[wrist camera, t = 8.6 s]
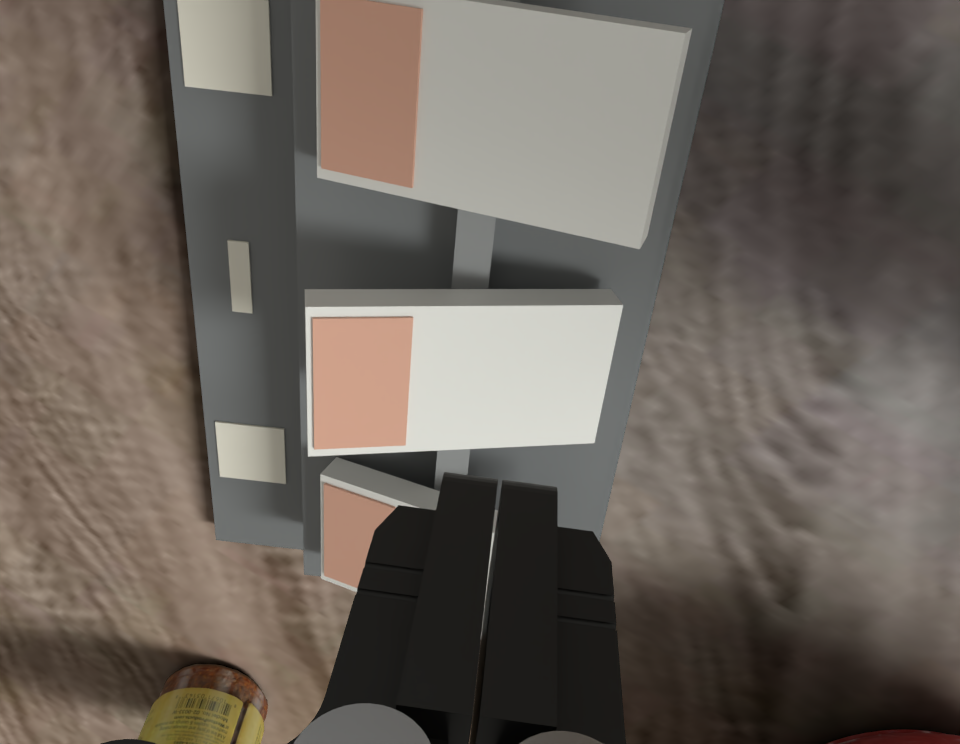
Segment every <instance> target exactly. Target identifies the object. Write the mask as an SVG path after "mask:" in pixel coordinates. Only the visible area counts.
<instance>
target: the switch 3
mask: <svg viewBox="0 0 960 744" xmlns="http://www.w3.org/2000/svg"><path fill="white" fill-rule="evenodd" d="M320 493H321V579H323V580H326V581H329V582H331V583H334V584H337V585H339V586H342V587H345V588H347V589H350V590H352V591H355V592H357V588H358V584H359V581H360V578H361V574H362V571H363V568H364V567H365V561H366V558H367V554H368V551H369V548H370V544H371V541H372V537H373V534H374V531H375V529H376V528H377V527H378V526H379V525H380V524H381V523H382V522H383V521H384V520H385V519H386V518H387V517H388V516H389V515H390V514H391V513H392V512H393V511H394V510H395V508H396V507H397V506H398V505H401V506H409V507H416V508H423V509H431V510H436V508H437V503H438V498H439V493H440V491H437V490H434V489H431V488H428V487H425V486H422V485H419V484H416V483H413V482H410V481H407V480H404V479H401V478H398V477H395V476H392V475H389V474H386V473H383V472H380V471H377V470H374V469H371V468H368V467H365V466H362V465H359V464H356V463H353V462H350V461H347V460H344V459H341V458H338V457H336V458H335V459H334V460H333V461H332V462H331V463H330V464H329V465H328V466H327V467H326V469H325V470H324V471H323V472H322V473H321V474H320ZM497 513H498V510H495V513H494V522H493V531H492V541H491V550H490V559H489V568H490V561H491V554H492V547H493V541H494V534H495V527H496V520H497ZM489 568H488V575H489ZM487 583H488V578H487ZM486 591H487V587H486ZM485 599H486V596H485ZM484 607H485V605H484ZM483 617H484V615H483ZM482 626H483V624H482ZM481 635H482V633H481Z"/></svg>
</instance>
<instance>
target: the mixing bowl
mask: <svg viewBox="0 0 960 744" xmlns="http://www.w3.org/2000/svg"><path fill="white" fill-rule="evenodd" d="M827 744H960V736H957V735H951V734H944V733H938V732H932V731H922V730H883V731H876V732H868V733H862V734H857V735H853V736H849V737H845V738H841V739H838V740H835V741H832V742H829V743H827Z"/></svg>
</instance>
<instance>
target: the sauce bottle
mask: <svg viewBox="0 0 960 744" xmlns="http://www.w3.org/2000/svg"><path fill="white" fill-rule="evenodd" d="M267 709H268V703H267V699H266V698H265V696H264V694H263V692H262V691H261V690H260V688H259V687H258V686H257V684H256V683H255V682H254V681H253V680H252V679H250V678H249V677H248V676H246V675H244V674H242V673H241V672H239V671H238V670H233V669H231V668H227V667H225V666H222V665H214V664H194V665H192V666H188V667H184V668H182V669H181V670H179V671H176V672H175V673H174V674H172V675H171V676H170V677H169V678H168V679H167V681H166V683H165V685H164V688H163V690H162V691H161V693H160V696H159V698H158V699H157V700H156V701H155V702H154V703H153V705H152V707H151V710H150V712H149V714H148V716H147V719H146V721H145V723H144V726H143V728H142V730H141V733H140V735H139V737H138V740H144V741H149V742H153V743H156V744H261V740H262V736H263V733H264V720H265V718H266V715H267Z"/></svg>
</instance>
